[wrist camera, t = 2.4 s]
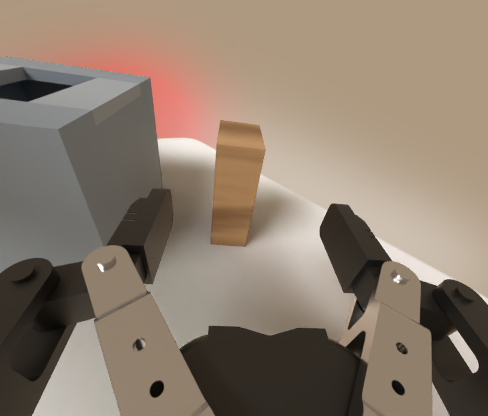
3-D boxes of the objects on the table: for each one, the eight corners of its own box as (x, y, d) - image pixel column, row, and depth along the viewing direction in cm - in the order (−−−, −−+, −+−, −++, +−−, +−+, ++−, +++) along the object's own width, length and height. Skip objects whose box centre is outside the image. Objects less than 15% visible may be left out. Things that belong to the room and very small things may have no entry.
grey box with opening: (117, 281, 20) (57, 129, 11) (-58, 273, 19) (-281, 89, 10) (162, 185, 32) (150, 77, 24) (60, 175, 31) (7, 56, 22)
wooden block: (245, 246, 26) (265, 149, 18) (210, 244, 25) (216, 144, 18) (243, 213, 30) (259, 125, 23) (214, 210, 30) (220, 120, 22)
